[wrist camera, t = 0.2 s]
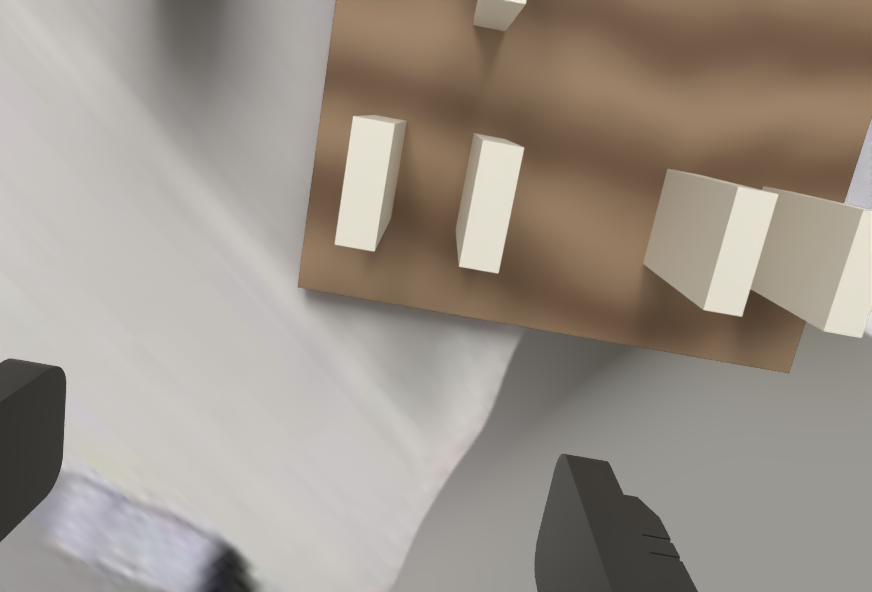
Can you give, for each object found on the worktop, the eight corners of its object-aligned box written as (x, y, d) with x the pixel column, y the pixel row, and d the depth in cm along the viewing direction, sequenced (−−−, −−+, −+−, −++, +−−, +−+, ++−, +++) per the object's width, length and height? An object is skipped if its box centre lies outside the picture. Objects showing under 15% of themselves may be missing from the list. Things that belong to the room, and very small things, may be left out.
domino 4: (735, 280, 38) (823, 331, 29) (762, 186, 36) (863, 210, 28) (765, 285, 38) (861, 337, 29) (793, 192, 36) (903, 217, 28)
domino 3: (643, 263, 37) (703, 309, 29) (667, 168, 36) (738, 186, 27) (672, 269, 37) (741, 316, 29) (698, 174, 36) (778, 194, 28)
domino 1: (360, 213, 37) (334, 244, 28) (375, 114, 36) (353, 116, 27) (390, 218, 37) (374, 251, 28) (406, 120, 36) (394, 123, 27)
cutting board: (357, -115, 35) (352, -127, 33) (891, -11, 36) (914, -17, 34) (304, 279, 40) (297, 287, 38) (774, 362, 41) (789, 373, 39)
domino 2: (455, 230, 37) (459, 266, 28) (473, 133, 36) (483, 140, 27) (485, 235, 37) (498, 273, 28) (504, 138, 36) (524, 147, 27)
